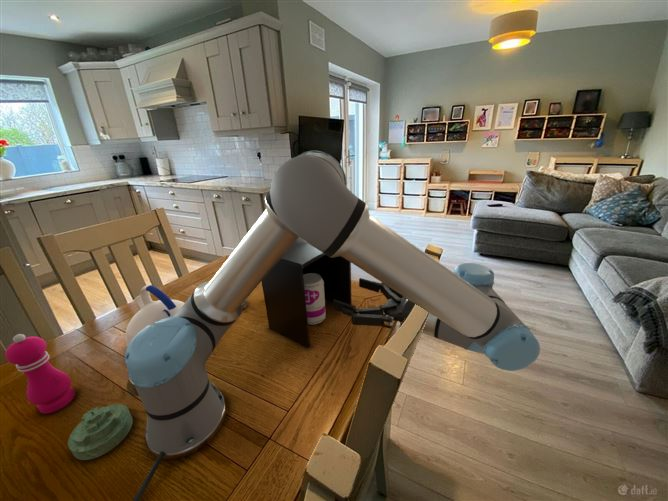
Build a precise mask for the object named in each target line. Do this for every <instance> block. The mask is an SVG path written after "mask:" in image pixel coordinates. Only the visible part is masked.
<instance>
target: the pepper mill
mask: <svg viewBox="0 0 668 501" xmlns="http://www.w3.org/2000/svg"><path fill="white" fill-rule="evenodd" d="M12 341H13V342H12V343H11V344H10V345H9V346H8V347H7V348H6V350H5V353H4V356H5V359H6V361H7V362H8V363H10V364H12V365H15V368H16V369H17V371H18V372H20V373H23V374H24V375H25V376H26V379H27V387H26V397H27V400H28V402H29V403H30V404H32V405H36V408H37V409H38V411H39V412H40V413H41V414H45V415H47V414H51V413H55V412H57V411H60V410H61V409H63V408H64V407H66V406H68V405H69V403H71V402H72V401H73V400H74V398H75V396H76V392H75V390H74V388H73V386H71V385H72V378H70V376H69V375H68V374H67V373H66V372H65V371H63V370H60V369H59V368H56V367H54V366H53V365H52V364H51V362H50V354H49V352H48V351H47V345H48V344H47V342H46V341H45V340H44V339H43V338H41V337H39V336H34V335H33V336H32V335H31V336H26V335H25V334H23V333H18V334H16V335H14V336H13V337H12Z"/></svg>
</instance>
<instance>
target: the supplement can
mask: <svg viewBox="0 0 668 501" xmlns="http://www.w3.org/2000/svg"><path fill="white" fill-rule="evenodd" d="M303 280H304V290H305V301H306V311H307V322H308V325H318V324H320V323H322V322H323V321H324V320H325V319H326V316H327V312H326V299H325V294H324V281H323V279H322V278H321V276H320V275H319V274H316V273H308V274H304V275H303Z"/></svg>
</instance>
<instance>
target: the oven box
mask: <svg viewBox="0 0 668 501" xmlns="http://www.w3.org/2000/svg"><path fill="white" fill-rule="evenodd" d="M308 273H316V274H319V275H320V276H321V278H322V279H323V281H324V294H325V301H329V302H331V303H333V300H338V301H341V302H344V303H347V304H350V305H352V306H353V304H352V263H351V262H349V261H348V260H346V259H345V258H343V257H341V256H338V257H333V258H331V257H329V256H327V255H326V254H324V253H323V252H321V251H319V250H318V249H316V248H315V247H313V246H312V245H310V244H309V243H307V242H306V241H304V240H303V239H302V238H300V237H299V238H298V239H297V241H296V242H295V243H294V244H293V245H292V246H291V247H290V249H289V250H288V251H287V252H286V253H285V254H284V256H283V257H282V258H281V259H280V260H279V261H278V262H277V264H276V265H275V266H274V267H273V268H272V269H271V271H270V272H269V273H268V274H267V275H266V276H265V277H264V279H263V280H262V281H261V286H262V293H263V299H264V305H265V312H266V317H267V323H268V329H269V330H271V331H272V332H275V333H276V334H278V335H280V336H282V337H285V339H288V340H290V341H293V342H294V343H296V344H298V345H300V346H302V347H304V348H306V349H309V348H310V346H311V344H310V334H309V324H308V322H307V311H306V301H305V290H304V280H303V275H304V274H308Z"/></svg>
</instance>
